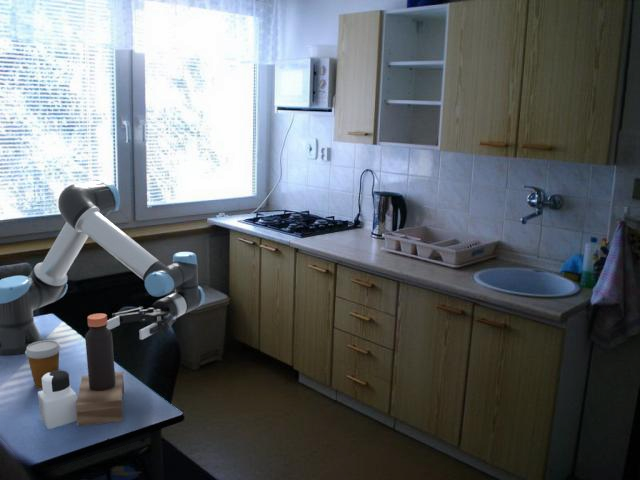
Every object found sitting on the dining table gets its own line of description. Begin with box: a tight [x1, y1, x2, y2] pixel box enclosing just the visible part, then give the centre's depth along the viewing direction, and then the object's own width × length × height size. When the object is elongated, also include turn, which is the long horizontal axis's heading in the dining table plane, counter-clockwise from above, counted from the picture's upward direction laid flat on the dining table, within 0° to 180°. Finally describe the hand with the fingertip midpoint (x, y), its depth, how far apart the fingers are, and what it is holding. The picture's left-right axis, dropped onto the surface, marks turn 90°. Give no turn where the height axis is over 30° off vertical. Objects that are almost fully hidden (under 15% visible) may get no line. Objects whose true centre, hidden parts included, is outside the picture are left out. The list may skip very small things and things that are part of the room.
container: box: [37, 369, 78, 430], centre depth 162 cm, size 8×8×13 cm
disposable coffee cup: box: [25, 339, 62, 389], centre depth 183 cm, size 10×10×12 cm
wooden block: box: [76, 371, 125, 428], centre depth 169 cm, size 18×11×6 cm, turn 16°
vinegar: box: [84, 313, 116, 391], centre depth 167 cm, size 7×7×20 cm
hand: (121, 331), depth 175 cm, fingers open, 13 cm apart
